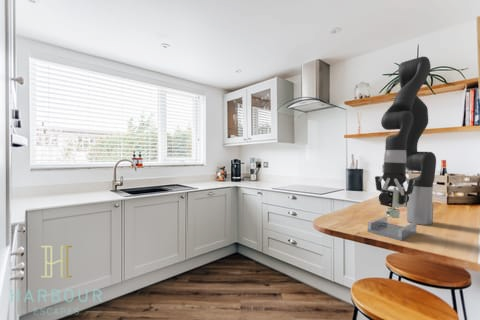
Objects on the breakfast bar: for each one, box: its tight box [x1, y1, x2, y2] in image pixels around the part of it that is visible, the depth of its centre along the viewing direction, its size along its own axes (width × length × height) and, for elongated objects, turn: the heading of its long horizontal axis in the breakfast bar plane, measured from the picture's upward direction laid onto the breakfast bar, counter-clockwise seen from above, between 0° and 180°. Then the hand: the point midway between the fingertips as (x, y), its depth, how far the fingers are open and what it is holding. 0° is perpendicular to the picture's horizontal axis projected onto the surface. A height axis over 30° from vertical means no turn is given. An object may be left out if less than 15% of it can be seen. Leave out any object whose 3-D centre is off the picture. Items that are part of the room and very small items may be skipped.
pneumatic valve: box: [378, 187, 409, 219], centre depth 96 cm, size 6×12×12 cm, turn 111°
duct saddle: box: [367, 216, 418, 241], centre depth 96 cm, size 16×12×4 cm
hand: (392, 202), depth 96 cm, fingers closed on pneumatic valve, 5 cm apart
